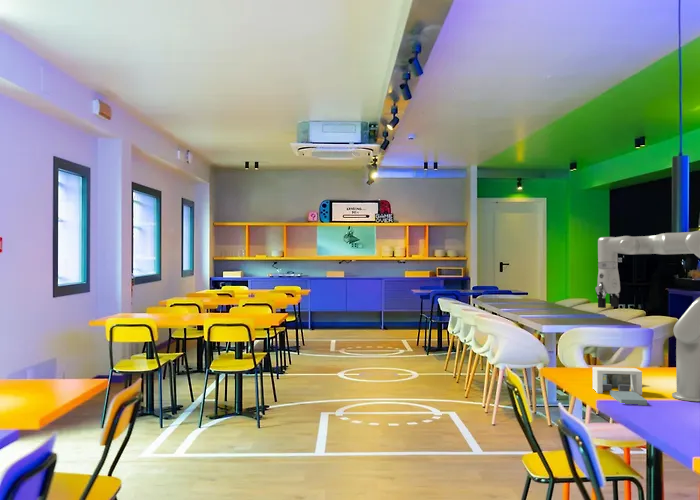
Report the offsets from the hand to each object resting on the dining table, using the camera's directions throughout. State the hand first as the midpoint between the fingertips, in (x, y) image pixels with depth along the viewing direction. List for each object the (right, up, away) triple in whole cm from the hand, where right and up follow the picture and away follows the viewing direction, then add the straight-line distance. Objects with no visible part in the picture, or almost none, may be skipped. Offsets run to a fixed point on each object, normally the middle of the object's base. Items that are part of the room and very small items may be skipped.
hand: (608, 307), depth 251 cm
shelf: (+1, -34, -6) cm, 35 cm away
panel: (-1, -34, -21) cm, 40 cm away
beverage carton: (+6, -35, +8) cm, 36 cm away
